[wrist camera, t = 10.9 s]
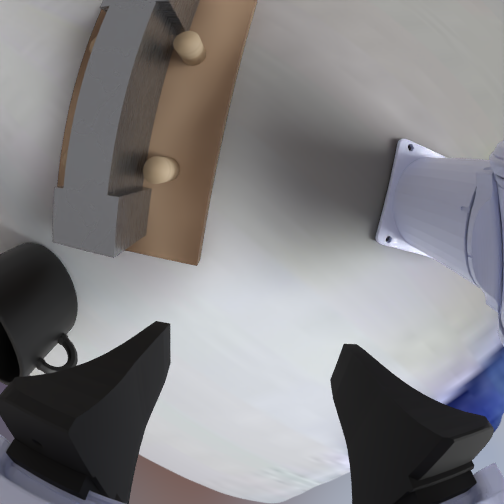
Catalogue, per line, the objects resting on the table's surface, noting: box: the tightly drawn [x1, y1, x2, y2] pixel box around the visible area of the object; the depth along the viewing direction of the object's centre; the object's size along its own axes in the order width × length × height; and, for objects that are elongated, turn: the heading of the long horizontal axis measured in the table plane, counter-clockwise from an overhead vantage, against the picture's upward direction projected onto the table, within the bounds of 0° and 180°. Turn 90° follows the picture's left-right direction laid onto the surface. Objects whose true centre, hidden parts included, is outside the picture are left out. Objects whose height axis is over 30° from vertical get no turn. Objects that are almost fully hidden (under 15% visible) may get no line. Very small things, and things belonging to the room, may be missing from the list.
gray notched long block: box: [53, 0, 200, 258], centre depth 14 cm, size 17×4×5 cm, turn 168°
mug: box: [0, 243, 77, 385], centre depth 17 cm, size 9×12×9 cm
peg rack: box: [57, 0, 257, 266], centre depth 16 cm, size 12×20×4 cm, turn 168°
